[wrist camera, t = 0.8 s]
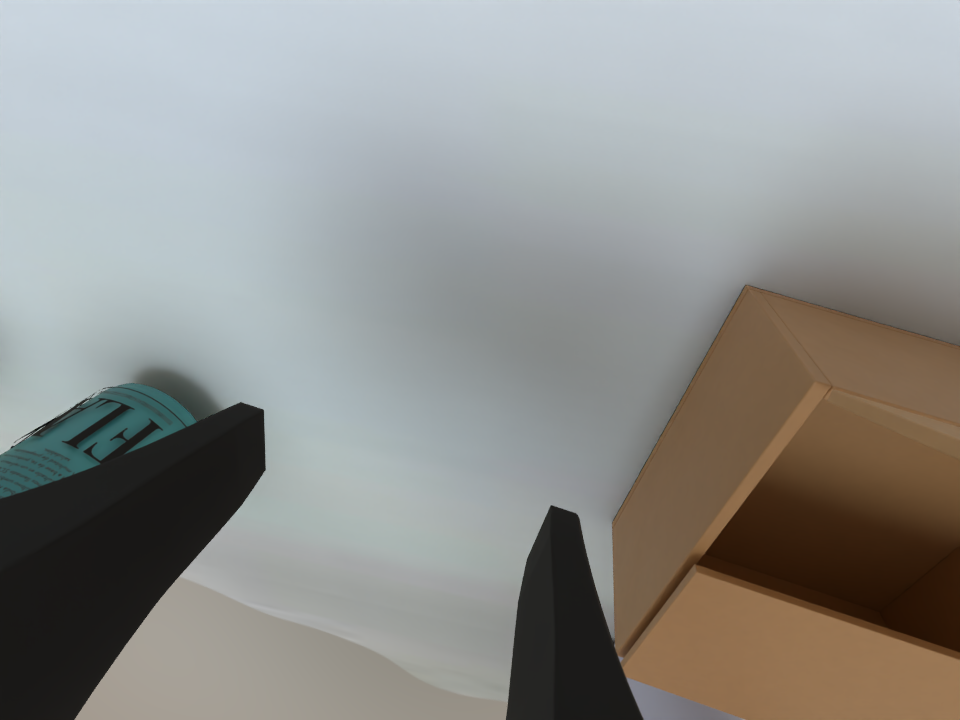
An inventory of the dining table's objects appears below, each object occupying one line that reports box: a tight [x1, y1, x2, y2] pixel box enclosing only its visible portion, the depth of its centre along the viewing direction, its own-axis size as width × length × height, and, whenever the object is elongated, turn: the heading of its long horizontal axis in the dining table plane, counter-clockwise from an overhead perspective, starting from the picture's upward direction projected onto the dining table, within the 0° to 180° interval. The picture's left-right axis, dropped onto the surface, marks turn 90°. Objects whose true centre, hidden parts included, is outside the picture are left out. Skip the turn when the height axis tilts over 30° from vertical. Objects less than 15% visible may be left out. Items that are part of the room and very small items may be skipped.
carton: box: [612, 285, 960, 720], centre depth 16 cm, size 13×13×7 cm
